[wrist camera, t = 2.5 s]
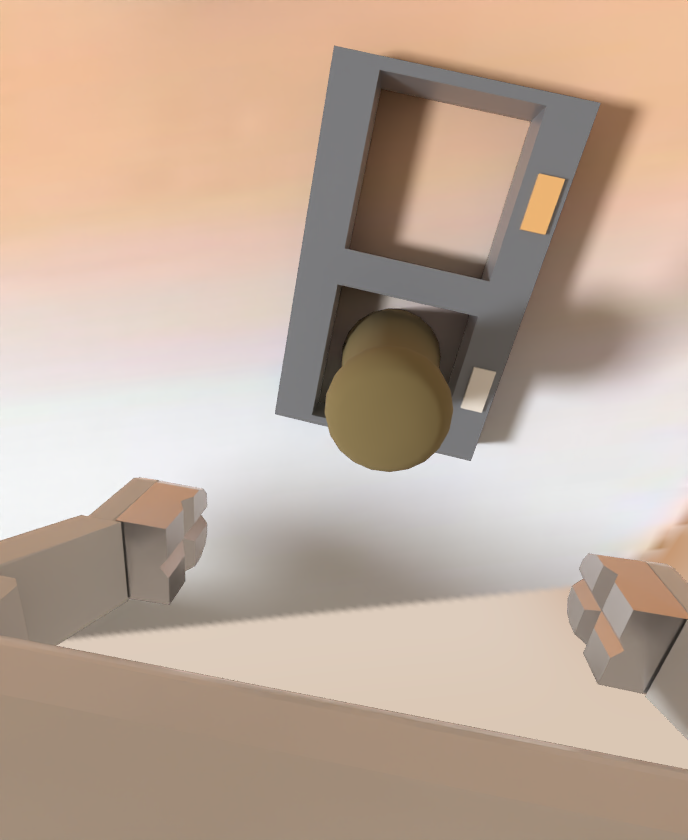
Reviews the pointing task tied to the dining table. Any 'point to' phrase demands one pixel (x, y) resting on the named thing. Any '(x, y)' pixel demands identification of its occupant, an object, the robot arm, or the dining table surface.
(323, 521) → the dining table surface
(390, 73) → the panel
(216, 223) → the dining table surface
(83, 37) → the dining table surface
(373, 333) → the cork
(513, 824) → the robot arm
